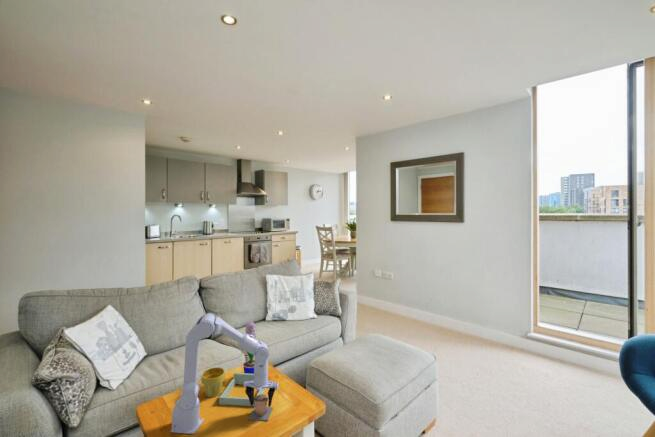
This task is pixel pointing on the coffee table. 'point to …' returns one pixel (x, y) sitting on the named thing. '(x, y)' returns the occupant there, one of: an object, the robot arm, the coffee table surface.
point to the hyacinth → (250, 363)
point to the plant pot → (213, 381)
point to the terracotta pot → (260, 404)
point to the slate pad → (261, 418)
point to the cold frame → (238, 379)
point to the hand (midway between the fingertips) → (261, 404)
